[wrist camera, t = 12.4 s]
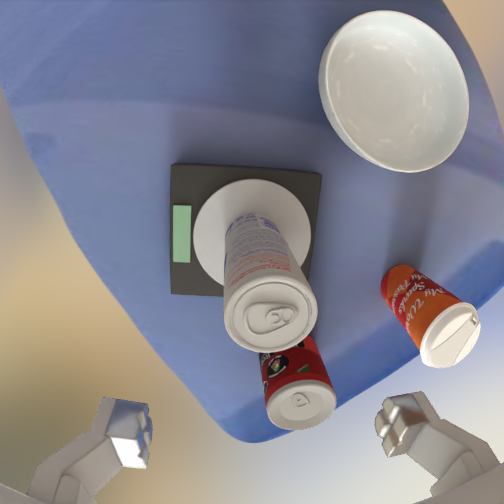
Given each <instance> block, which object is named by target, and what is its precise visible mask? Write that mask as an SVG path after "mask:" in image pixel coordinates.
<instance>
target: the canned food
mask: <svg viewBox="0 0 504 504" xmlns="http://www.w3.org/2000/svg"><path fill="white" fill-rule="evenodd" d="M259 360H260V367H261V374H262V382H263V389H264V396H265V403H266V409H267V413H268V417H269V419H270V421H271V422H272V423H273V424H275V425H276V426H278V427H280V428H283V429H287V430H303V429H308V428H311V427H314V426H316V425H318V424H320V423H322V422H323V421H325V420H326V419H327V418H328V417H329V416H330V415H331V414H332V413H333V411H334V410H335V407H336V401H337V400H336V396H335V392H334V389H333V386H332V384H331V381H330V379H329V376H328V374H327V371H326V369H325V366H324V364H323V361H322V359H321V356H320V354H319V351H318V349H317V346H316V344H315V342H314V340H313V339H312V337H311V336H310V335H309V334H308V335H307V336H306V337H305V338H304V339H303V340H302V341H301V342H299V343H298V344H296V345H295V346H293V347H291V348H288V349H286V350H282V351H278V352H271V353H262V352H259Z"/></svg>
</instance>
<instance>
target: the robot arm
mask: <svg viewBox="0 0 504 504" xmlns="http://www.w3.org/2000/svg"><path fill="white" fill-rule="evenodd" d="M382 406H383V409H382V410H380V411H379V412H378V413H377V416H376V418H375V429H376V432H377V435H378V436H379V437H381V438H382V439H383V442H382V446H383V448H384V451H385V453H386V455H387V457H392V456H397V455H401V454H405V453H407V455H408V456H409V457H410V458H412V459H413V460H414V461H415V462H417V463H418V464H419V465H420V466H422V467H423V468H424V469H425V470H427V471H428V472H429V473H431V474H432V475H433V476H434V477H436V478H437V479H438V481H437V482H436V483H435V484H434V485H433V486H432V487H431V489H430V491H431V494H432V496H433V497H430V498H428V499H425V500H423V501H420V502H417V503H414V504H504V462H503V463H502V464H500V463H499V461H498V459H497V458H496V456H495V454H494V453H493V451H492V450H491V448H490V446H489V445H488V443H487V442H485V441H483V440H481V439H479V438H478V437H476V436H474V435H472V434H470V433H468V432H467V431H465V430H463V429H461V428H459V427H457V426H456V425H454V424H452V423H450V422H448V421H447V420H445V419H442V420H441V419H440V418H439V416H438V414H437V413H436V411H435V410H434V408H433V406H432V405H431V403H430V402H429V400H428V399H427V397H426V395H425V394H424V393H423V392H421V391H420V392H415V393H409V394H403V395H397V396H392V397H387V398H386V399H385V400H384V401H383V403H382ZM148 413H149V408H148V404H146V403H140V402H133V401H127V400H121V399H114V398H108V397H103V398H102V399H101V401H100V404H99V406H98V409H97V412H96V414H95V417H94V420H93V423H92V425H91V428H90V431H89V433H88V432H84V433H83V434H82V435H80V436H79V437H77V438H76V439H74V440H73V441H71V442H70V443H69V444H67V445H66V446H64V447H63V448H62V449H60V450H59V451H57V452H56V453H54V454H53V455H51V456H50V457H49V458H47V459H45V460H44V461H42V462H41V463H40V464H38V465H37V468H36V471H35V473H34V475H33V478H32V481H31V484H30V486H29V489H28V492H27V494H26V495H25V494H23V493H21V492H18V491H16V490H14V489H11V488H9V487H7V486H5V485H3V484H1V483H0V504H97V503H96V502H95V500H94V499H93V498H92V497H93V496H94V495H95V494H96V493H97V492H98V491H99V490H100V489H101V488H102V487H103V486H104V485H105V484H106V483H107V482H108V481H109V480H110V479H111V478H112V477H113V476H114V475H115V474H116V473H117V472H118V471H119V470H120V469H121V468H122V466H125V467H132V468H140V469H147V464H148V458H149V452H148V449H147V446H149V445H150V444H151V440H152V421H151V418H150V417H149V416H148Z"/></svg>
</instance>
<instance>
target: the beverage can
mask: <svg viewBox="0 0 504 504" xmlns="http://www.w3.org/2000/svg"><path fill="white" fill-rule="evenodd" d="M223 313H224V323H225V326H226V329H227V331H228V333H229V335H230V336H231V338H232V339H233V340H234V341H235V342H236V343H238V344H239V345H240V346H242V347H244V348H246V349H249V350H252V351H255V352H262V353H271V352H278V351H282V350H286V349H288V348H291V347H293V346H295V345H296V344H298V343H299V342H301V341H302V340H303V339H304V338H305V337H306V336H307V335H308V334H309V333H310V332H311V330H312V329H313V327H314V325H315V322H316V319H317V315H318V306H317V302H316V298H315V296H314V294H313V292H312V290H311V287H310V285H309V284H308V282H307V280H306V278H305V276H304V274H303V272H302V270H301V268H300V267H299V265H298V263H297V261H296V259H295V257H294V255H293V253H292V252H291V250H290V248H289V246H288V244H287V242H286V240H285V239H284V237H283V235H282V233H281V231H280V229H279V228H278V226H277V224H276V223H275V222H274V221H273V220H272V219H271V218H269V217H268V216H265V215H263V214H259V213H249V214H245V215H242V216H240V217H238V218H237V219H235V220H234V221H233V222H232V223H231V224H230V226H229V227H228V229H227V231H226V235H225V259H224V304H223Z"/></svg>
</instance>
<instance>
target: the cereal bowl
mask: <svg viewBox="0 0 504 504" xmlns="http://www.w3.org/2000/svg"><path fill="white" fill-rule="evenodd" d="M318 78H319V80H318V84H319V93H320V98H321V102H322V106H323V108H324V111H325V113H326V116H327V118H328V120H329V122H330V123H331V126H332V127H333V128H334V130H335V131H336V132H337V134H338V136H339V137H340V138H341V139H342V140H343V141H344V142H345V144H347V146H348V147H350V148H351V149H352V150H353V151H354V152H356V153H357V154H358V155H360V156H361V157H363V158H364V159H366V160H368V161H370V162H371V163H373V164H376V165H378V166H381V167H383V168H386V169H389V170H394V171H397V172H420V171H424V170H427V169H430V168H433V167H435V166H437V165H438V164H440V163H442V162H443V161H444V160H446V159H447V158H448V157H449V156H450V155H451V154H452V153H453V151H454V150H455V149H456V147H457V146H458V144H459V143H460V141H461V139H462V137H463V135H464V132H465V129H466V126H467V121H468V115H469V95H468V89H467V84H466V80H465V77H464V73H463V71H462V68H461V66H460V64H459V62H458V60H457V58H456V56H455V54H454V53H453V51H452V50H451V48H450V47H449V45H448V44H447V43H446V42H445V40H444V39H443V38H442V37H441V36H440V35H439V34H438V33H437V32H436V31H435V30H433V29H432V28H431V27H430V26H428V25H427V24H425V23H424V22H422V21H420V20H419V19H417V18H415V17H413V16H410V15H408V14H405V13H401V12H397V11H389V10H379V11H372V12H367V13H364V14H361V15H358V16H357V17H355V18H353V19H351V20H350V21H349V22H347V23H345V24H344V25H343V26H342V27H340V29H339V30H337V32H336V33H335V34H334V35H333V36H332V37H331V40H330V41H329V42H328V44H327V46H326V48H325V50H324V52H323V55H322V57H321V62H320V66H319V75H318Z"/></svg>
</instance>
